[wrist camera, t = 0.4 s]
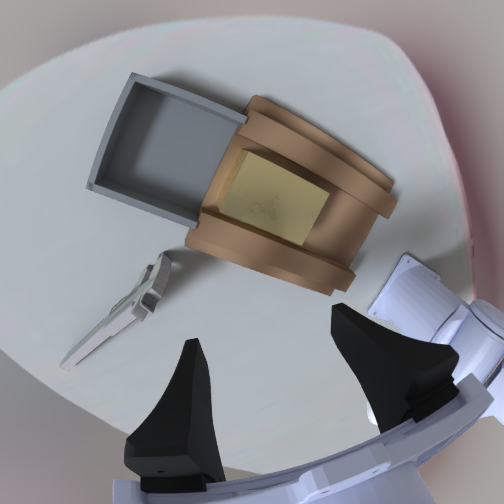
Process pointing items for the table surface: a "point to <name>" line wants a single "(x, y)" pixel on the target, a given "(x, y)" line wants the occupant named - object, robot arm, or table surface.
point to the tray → (162, 149)
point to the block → (270, 197)
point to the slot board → (314, 171)
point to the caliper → (125, 310)
